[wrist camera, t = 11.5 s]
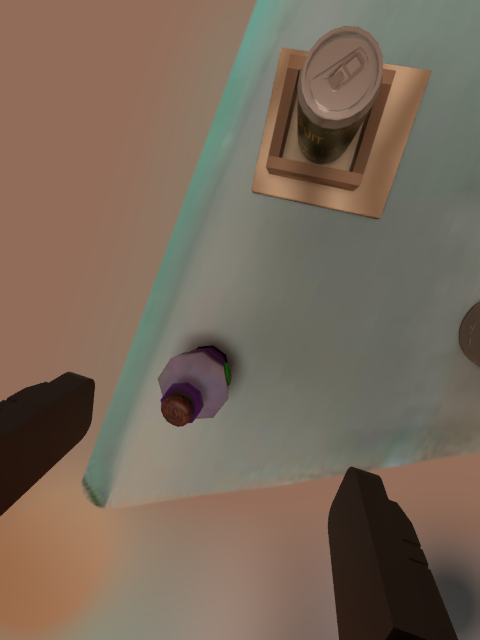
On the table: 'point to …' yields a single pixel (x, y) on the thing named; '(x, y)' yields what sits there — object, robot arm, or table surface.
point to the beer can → (336, 91)
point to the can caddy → (360, 157)
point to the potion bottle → (194, 385)
